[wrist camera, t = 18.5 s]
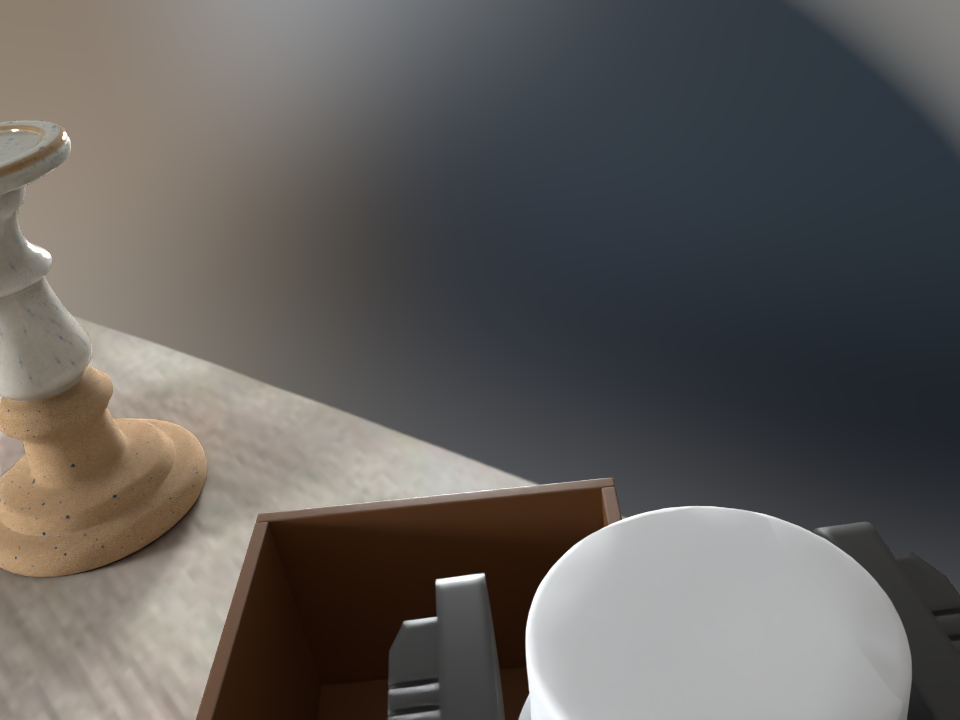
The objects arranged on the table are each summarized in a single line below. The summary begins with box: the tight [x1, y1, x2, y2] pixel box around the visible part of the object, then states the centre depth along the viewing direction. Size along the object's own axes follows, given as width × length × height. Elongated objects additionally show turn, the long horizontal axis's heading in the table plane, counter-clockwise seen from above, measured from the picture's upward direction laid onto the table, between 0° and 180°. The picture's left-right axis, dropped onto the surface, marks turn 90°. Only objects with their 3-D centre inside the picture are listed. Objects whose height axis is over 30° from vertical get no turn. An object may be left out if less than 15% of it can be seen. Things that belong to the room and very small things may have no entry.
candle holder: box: [0, 121, 207, 577], centre depth 45 cm, size 12×12×20 cm
